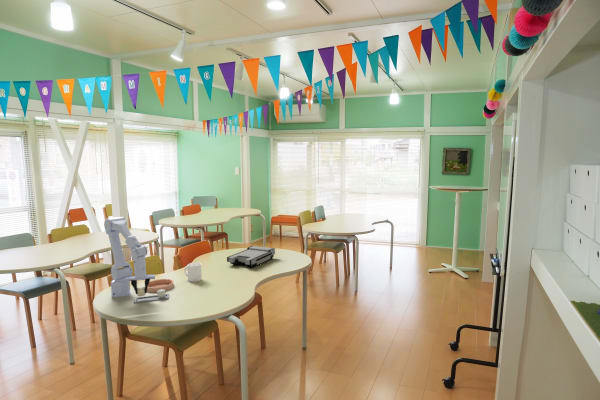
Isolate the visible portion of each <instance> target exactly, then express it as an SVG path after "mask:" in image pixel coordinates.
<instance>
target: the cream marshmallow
mask: <svg viewBox="0 0 600 400" xmlns="http://www.w3.org/2000/svg"><path fill="white" fill-rule="evenodd" d="M146 294H147V293H145V286H137V294H136V295H137V297H144V296H147V295H146Z"/></svg>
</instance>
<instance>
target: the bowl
mask: <svg viewBox="0 0 600 400" xmlns="http://www.w3.org/2000/svg"><path fill="white" fill-rule="evenodd" d="M174 285H175V284H174V280H173V279H169V278H160V279H158V278H157V279H152V280H150V282H149V284H148V287H147V293H157V291H158V290H161V289H164V290H165V292H167V291H170V290H171V289H173V288H174V287H175V286H174Z"/></svg>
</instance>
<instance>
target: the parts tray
mask: <svg viewBox="0 0 600 400" xmlns="http://www.w3.org/2000/svg"><path fill="white" fill-rule="evenodd" d="M169 295H170V293H165V296H166V297H165V298H160V299H158V294H154V295H144V296H137V297H134V301H133V304H138V303H146V302H157V301H164V300H165V301H167V300H169Z"/></svg>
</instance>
